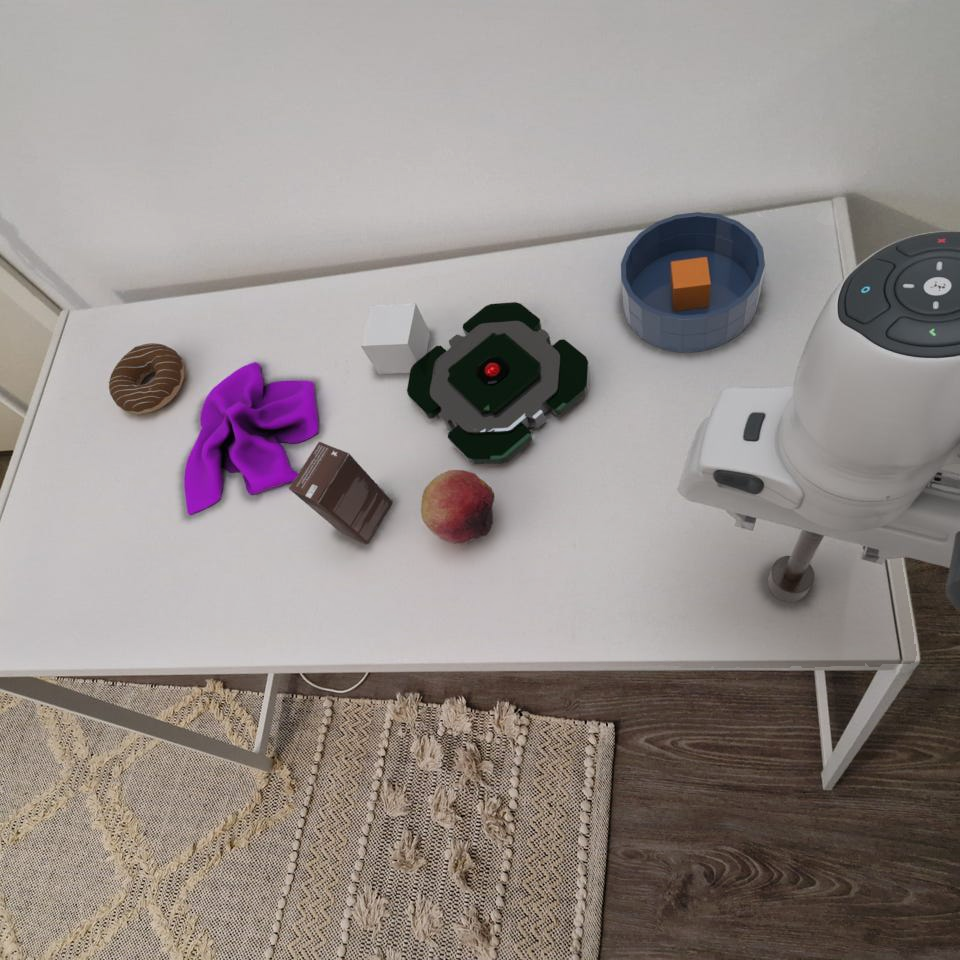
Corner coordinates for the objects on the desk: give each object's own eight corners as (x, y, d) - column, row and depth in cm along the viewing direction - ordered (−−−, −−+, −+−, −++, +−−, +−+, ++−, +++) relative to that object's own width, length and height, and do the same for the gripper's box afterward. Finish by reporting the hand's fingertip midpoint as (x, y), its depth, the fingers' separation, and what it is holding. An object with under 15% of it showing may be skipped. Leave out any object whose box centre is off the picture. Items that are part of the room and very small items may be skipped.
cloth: (227, 360, 97) (202, 332, 91) (344, 377, 90) (324, 349, 85) (152, 505, 89) (118, 484, 83) (274, 535, 82) (246, 515, 77)
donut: (150, 347, 101) (132, 330, 98) (204, 363, 97) (187, 346, 94) (107, 408, 98) (87, 392, 94) (161, 427, 94) (142, 412, 90)
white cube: (423, 372, 88) (407, 344, 82) (378, 374, 89) (360, 346, 84) (430, 333, 90) (415, 302, 85) (386, 335, 92) (369, 305, 87)
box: (363, 488, 82) (318, 438, 72) (394, 502, 81) (352, 453, 70) (335, 532, 81) (286, 488, 70) (366, 547, 79) (320, 504, 68)
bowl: (771, 258, 83) (778, 220, 78) (740, 363, 78) (745, 330, 73) (644, 242, 88) (643, 206, 83) (607, 339, 83) (603, 307, 78)
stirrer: (812, 572, 66) (847, 509, 53) (804, 607, 65) (838, 552, 52) (772, 561, 68) (797, 497, 55) (763, 595, 67) (787, 538, 54)
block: (705, 280, 83) (707, 256, 80) (709, 307, 81) (710, 284, 78) (670, 284, 84) (670, 261, 80) (673, 311, 82) (673, 288, 79)
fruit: (457, 479, 80) (437, 446, 73) (515, 505, 77) (500, 472, 70) (422, 537, 78) (397, 508, 71) (480, 566, 75) (461, 539, 68)
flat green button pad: (489, 484, 79) (479, 466, 75) (399, 392, 87) (386, 371, 83) (607, 384, 81) (604, 360, 77) (508, 303, 89) (500, 279, 85)
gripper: (1051, 452, 41) (961, 537, 53) (699, 382, 48) (690, 471, 61) (1040, 549, 39) (949, 614, 51) (673, 461, 46) (669, 536, 58)
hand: (807, 536), depth 56 cm, fingers open, 8 cm apart
